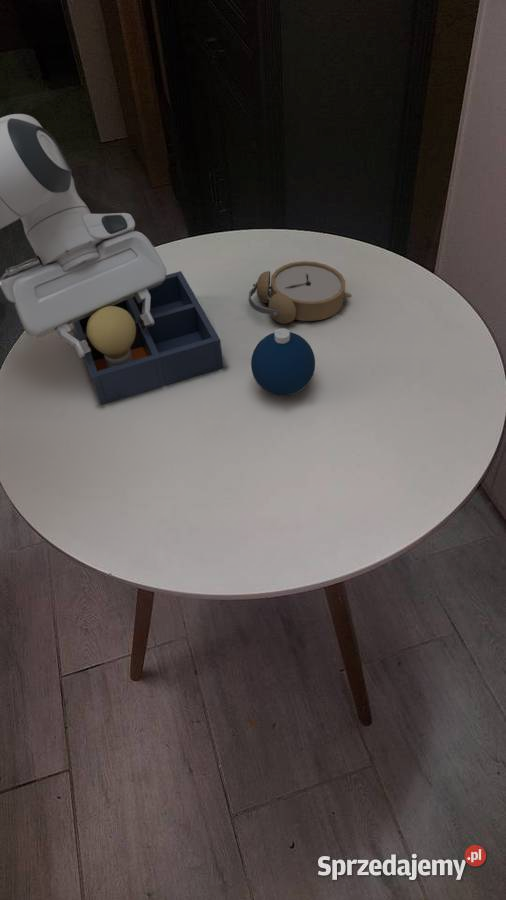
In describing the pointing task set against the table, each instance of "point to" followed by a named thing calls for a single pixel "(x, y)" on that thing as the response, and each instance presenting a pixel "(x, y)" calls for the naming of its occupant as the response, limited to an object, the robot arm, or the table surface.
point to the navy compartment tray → (158, 344)
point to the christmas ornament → (283, 363)
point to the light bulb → (112, 334)
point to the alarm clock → (300, 292)
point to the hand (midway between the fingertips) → (118, 340)
